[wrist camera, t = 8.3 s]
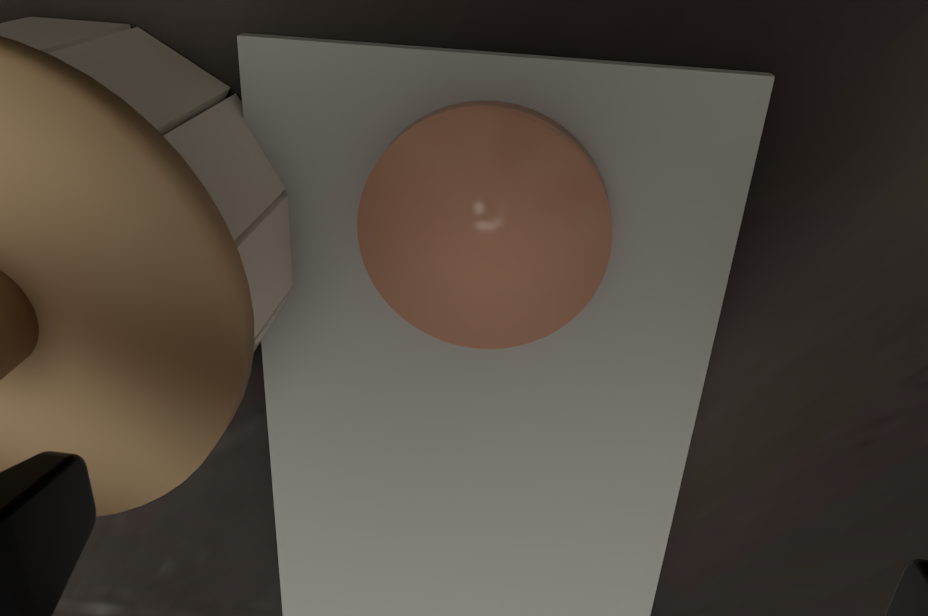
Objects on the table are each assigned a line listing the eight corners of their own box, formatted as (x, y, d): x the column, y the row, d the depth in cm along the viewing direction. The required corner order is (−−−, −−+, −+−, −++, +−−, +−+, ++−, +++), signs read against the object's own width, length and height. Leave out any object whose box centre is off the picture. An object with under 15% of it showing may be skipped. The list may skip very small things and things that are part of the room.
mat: (770, 72, 17) (775, 76, 17) (633, 676, 27) (633, 687, 26) (243, 33, 18) (236, 35, 18) (288, 627, 28) (284, 636, 27)
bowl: (284, 35, 18) (204, 74, 14) (303, 394, 23) (247, 498, 19) (-116, 5, 19) (-296, 34, 15) (-19, 357, 24) (-138, 449, 20)
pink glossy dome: (631, 116, 18) (634, 128, 17) (588, 344, 21) (589, 364, 20) (370, 85, 18) (359, 95, 17) (363, 313, 21) (354, 331, 20)
